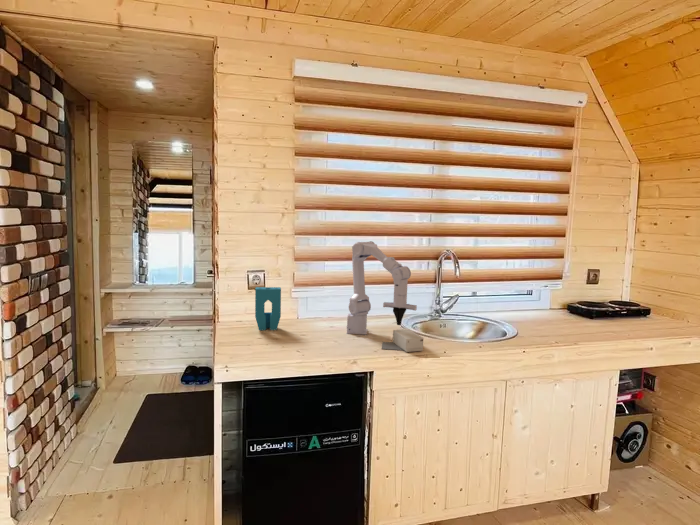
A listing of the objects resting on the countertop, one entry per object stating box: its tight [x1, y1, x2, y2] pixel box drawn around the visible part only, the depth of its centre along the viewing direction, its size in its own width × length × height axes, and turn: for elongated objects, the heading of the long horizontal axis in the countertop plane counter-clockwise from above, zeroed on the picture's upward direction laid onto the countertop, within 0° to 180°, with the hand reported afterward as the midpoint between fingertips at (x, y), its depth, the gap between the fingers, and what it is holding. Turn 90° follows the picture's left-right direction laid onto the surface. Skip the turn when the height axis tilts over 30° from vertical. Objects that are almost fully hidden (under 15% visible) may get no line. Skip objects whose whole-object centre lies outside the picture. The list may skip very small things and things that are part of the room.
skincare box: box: [392, 328, 424, 353], centre depth 201 cm, size 8×6×15 cm
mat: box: [381, 341, 406, 352], centre depth 201 cm, size 14×10×1 cm
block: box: [254, 286, 282, 331], centre depth 222 cm, size 12×5×20 cm, turn 100°
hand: (398, 324), depth 202 cm, fingers closed
